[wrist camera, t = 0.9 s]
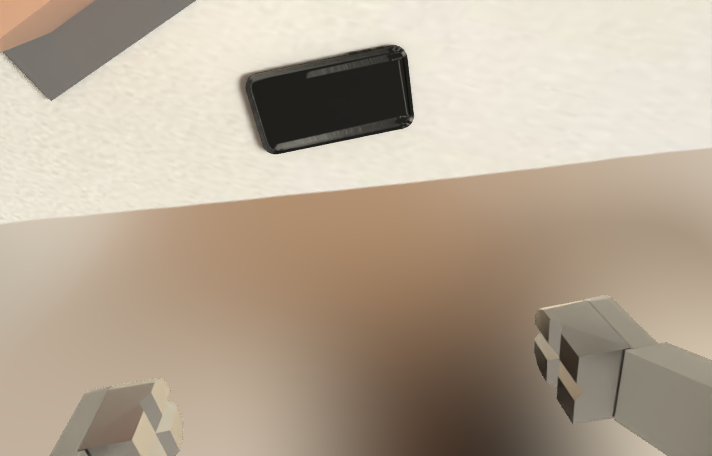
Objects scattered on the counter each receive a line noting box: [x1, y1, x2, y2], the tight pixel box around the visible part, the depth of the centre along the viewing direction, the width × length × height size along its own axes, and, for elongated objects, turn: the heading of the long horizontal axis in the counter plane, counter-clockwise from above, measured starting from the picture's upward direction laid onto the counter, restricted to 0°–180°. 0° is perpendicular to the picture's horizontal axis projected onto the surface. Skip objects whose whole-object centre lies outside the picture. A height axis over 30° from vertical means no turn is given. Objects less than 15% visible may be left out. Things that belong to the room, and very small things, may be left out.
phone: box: [246, 45, 414, 154], centre depth 44 cm, size 8×1×15 cm
